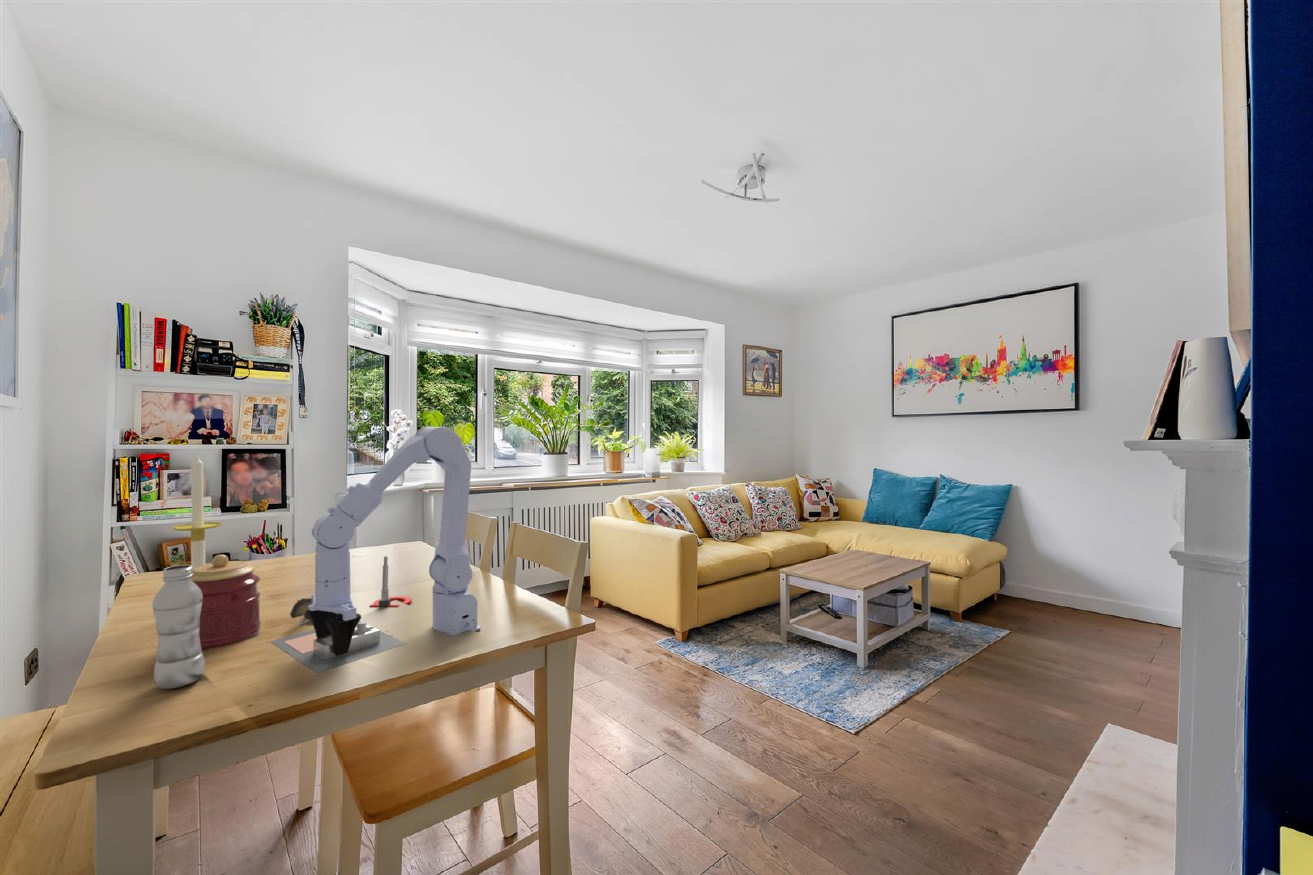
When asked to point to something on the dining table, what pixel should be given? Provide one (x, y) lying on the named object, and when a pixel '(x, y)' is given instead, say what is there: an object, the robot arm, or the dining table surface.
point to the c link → (370, 637)
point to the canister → (227, 602)
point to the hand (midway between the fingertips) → (333, 648)
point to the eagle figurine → (302, 610)
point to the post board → (303, 652)
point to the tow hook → (386, 600)
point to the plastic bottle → (178, 629)
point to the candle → (197, 516)
